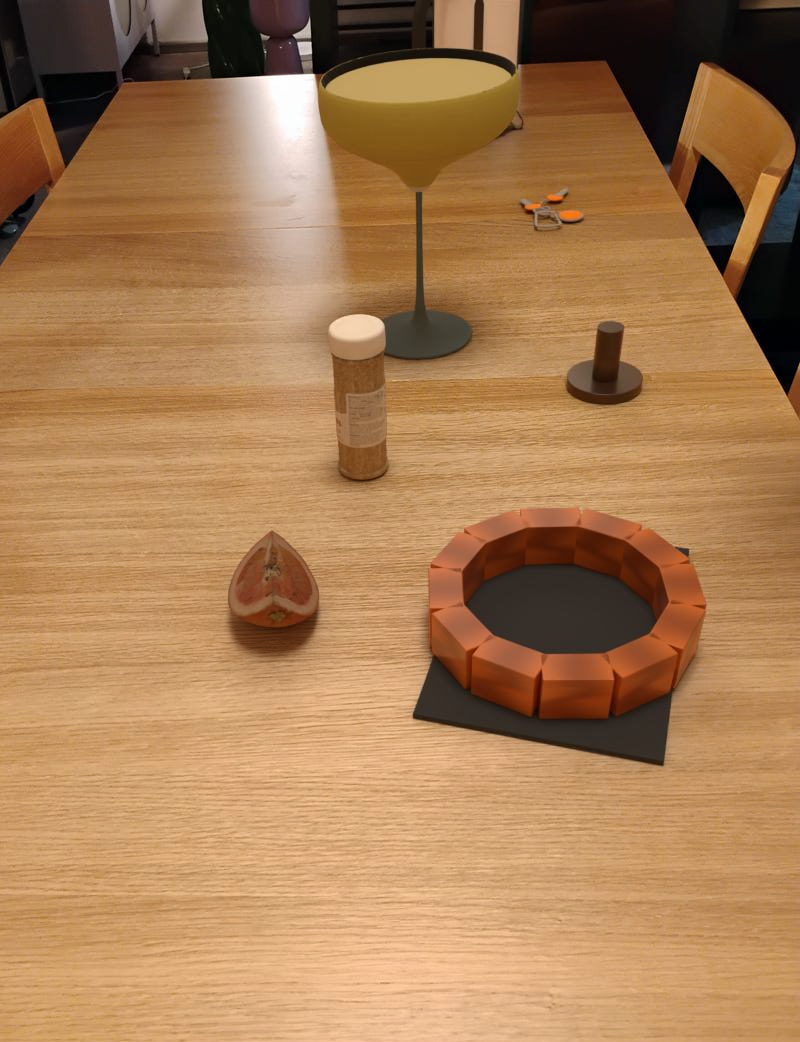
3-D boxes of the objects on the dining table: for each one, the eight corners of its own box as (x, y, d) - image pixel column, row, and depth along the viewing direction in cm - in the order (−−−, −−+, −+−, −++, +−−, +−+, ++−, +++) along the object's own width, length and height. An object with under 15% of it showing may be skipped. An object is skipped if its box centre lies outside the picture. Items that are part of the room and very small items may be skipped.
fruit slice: (322, 650, 74) (317, 597, 70) (229, 657, 74) (219, 605, 70) (319, 577, 80) (314, 525, 76) (233, 584, 80) (224, 532, 77)
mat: (482, 525, 83) (482, 520, 83) (688, 552, 79) (689, 548, 78) (412, 717, 68) (412, 713, 68) (663, 765, 64) (664, 761, 63)
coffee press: (420, 117, 163) (418, -114, 143) (523, 113, 161) (535, -123, 141) (412, 154, 151) (409, -94, 131) (523, 150, 148) (537, -103, 128)
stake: (609, 361, 101) (617, 303, 97) (657, 390, 97) (667, 330, 93) (551, 380, 99) (556, 322, 95) (596, 411, 95) (604, 351, 91)
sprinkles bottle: (338, 455, 92) (327, 313, 83) (388, 452, 92) (383, 310, 83) (338, 484, 89) (327, 339, 80) (390, 481, 89) (386, 336, 80)
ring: (584, 519, 82) (589, 481, 80) (752, 655, 69) (763, 615, 67) (383, 596, 77) (381, 558, 74) (524, 758, 64) (528, 719, 62)
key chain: (588, 227, 126) (588, 220, 125) (527, 231, 126) (528, 224, 126) (571, 190, 135) (572, 183, 135) (515, 194, 136) (516, 187, 135)
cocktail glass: (393, 286, 118) (386, 40, 101) (537, 317, 109) (556, 55, 92) (301, 353, 107) (276, 92, 91) (452, 393, 99) (455, 114, 82)
